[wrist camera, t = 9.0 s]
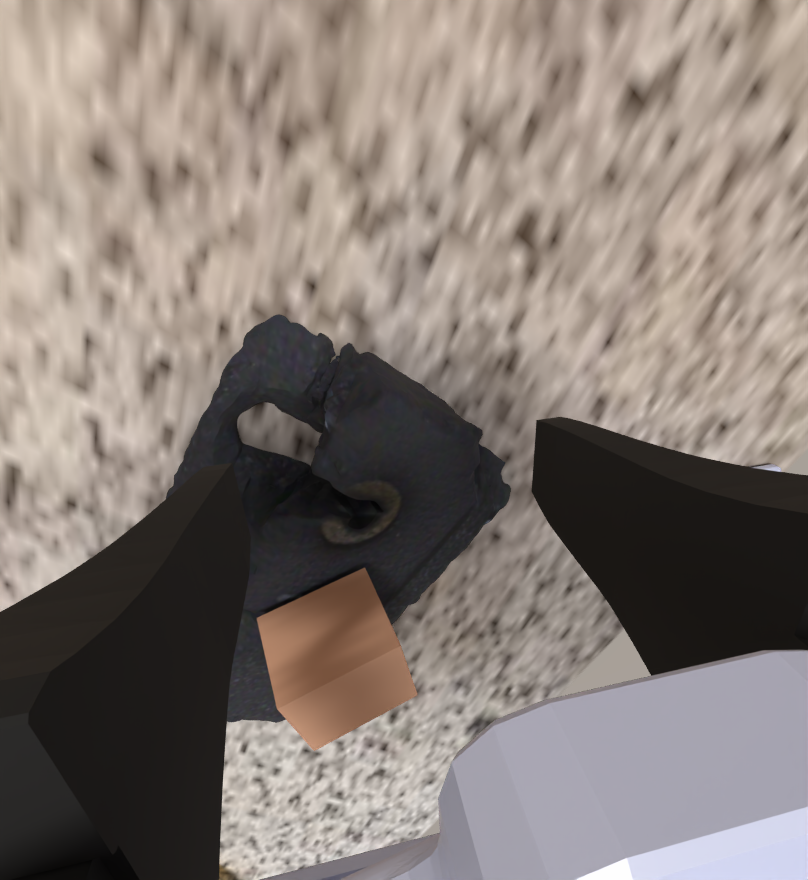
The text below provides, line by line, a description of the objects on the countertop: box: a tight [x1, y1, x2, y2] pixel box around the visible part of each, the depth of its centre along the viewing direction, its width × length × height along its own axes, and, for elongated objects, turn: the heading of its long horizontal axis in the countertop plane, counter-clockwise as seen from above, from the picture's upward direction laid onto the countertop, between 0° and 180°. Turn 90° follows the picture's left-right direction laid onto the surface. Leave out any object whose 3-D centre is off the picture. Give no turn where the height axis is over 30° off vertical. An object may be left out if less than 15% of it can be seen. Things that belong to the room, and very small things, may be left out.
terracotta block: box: [257, 568, 417, 751], centre depth 21 cm, size 5×5×4 cm
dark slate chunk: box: [166, 315, 511, 722], centre depth 23 cm, size 15×22×5 cm
